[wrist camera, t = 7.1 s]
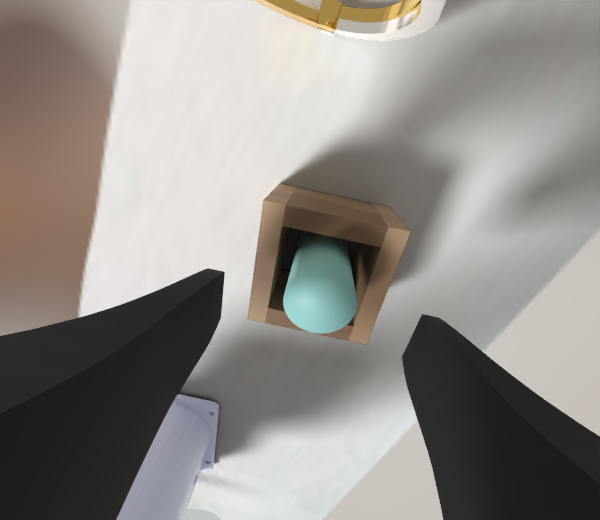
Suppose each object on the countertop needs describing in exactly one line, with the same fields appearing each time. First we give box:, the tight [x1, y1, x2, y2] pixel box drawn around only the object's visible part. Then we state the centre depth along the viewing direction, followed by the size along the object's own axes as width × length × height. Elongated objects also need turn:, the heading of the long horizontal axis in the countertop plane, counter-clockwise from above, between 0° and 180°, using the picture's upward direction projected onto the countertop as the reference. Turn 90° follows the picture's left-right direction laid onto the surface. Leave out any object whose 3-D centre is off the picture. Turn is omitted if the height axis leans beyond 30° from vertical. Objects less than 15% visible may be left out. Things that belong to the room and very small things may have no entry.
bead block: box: [248, 184, 410, 344], centre depth 14 cm, size 6×6×4 cm
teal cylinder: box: [283, 231, 357, 334], centre depth 13 cm, size 3×3×6 cm
